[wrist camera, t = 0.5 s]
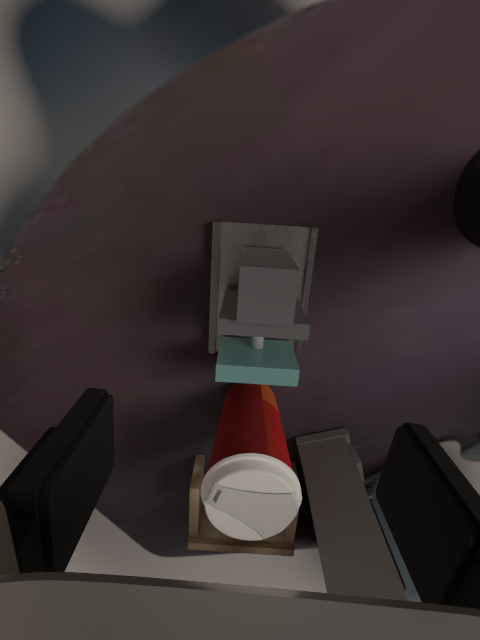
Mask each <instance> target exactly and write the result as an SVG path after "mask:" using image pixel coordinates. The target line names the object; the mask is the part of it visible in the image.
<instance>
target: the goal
mask: <svg viewBox="0 0 480 640" xmlns="http://www.w3.org/2000/svg"><path fill="white" fill-rule="evenodd" d="M204 461H205V455H196V459H195V464H194V469H193V474H192V479H191V484H190V497H189V539H188V549H191V550H206V551H221V552H236V553H252V554H267V555H282V556H293V555H294V537H295V531H296V525H297V518H298V512H299V508H298V512H297V514H296V516H295V518H294V519H293V520H292V522H291V523H290V524H289V525H288V526H287V527H286V528H285V529H284V530H283V531H281V532H280V533H278V534H276V535H274V536H271V537H269V538H266V539H263V540H255V541H251V540H240V539H236V538H233V537H230V536H228V535H226V534H224V533H222V532H221V531H219V530H218V529H217V528H216V527H215V526H214V525H213V524H212V523H211V521H210V520H209V518H208V516H207V514H206V511H205V506H204V504H203V502H202V498H201V484H202V481H203V478H204ZM291 466H292V470H293V472H294V473H295V474H296V476H297V478H298V475H297V469H296V463H295V461H291Z"/></svg>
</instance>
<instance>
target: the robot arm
mask: <svg viewBox="0 0 480 640" xmlns="http://www.w3.org/2000/svg"><path fill="white" fill-rule="evenodd" d="M113 461H114V453H113V396H112V395H108V392H107V390H104V389H95V388H88V389H86V391H85V392H84V393H83V394H82V396H81V397H80V398H79V399H78V401H77V402H76V403H75V404H74V406H73V407H72V408H71V409H70V411H69V412H68V413H67V414H66V416H65V417H64V418H63V419H62V421H61V422H60V423H59V425H58V426H57V427H51V428H49V429H48V430H47V431H46V432H45V433H44V434H43V436H42V437H41V438H40V439H39V440H38V442H37V443H36V444H35V445H34V446H33V448H32V449H31V450H30V451H29V453H28V454H27V455H26V456H25V457H24V459H23V460H22V461H21V462H20V463H19V465H18V466H17V467H16V468H15V470H14V471H13V472H12V473H11V474H10V476H9V477H8V478H7V479H6V480H5V482H4V483H3V484H2V485H1V487H0V640H480V496H479V494H478V493H477V492H476V490H475V489H474V488H473V487H472V485H471V484H470V483H469V482H468V480H467V479H466V478H465V476H464V475H463V474H462V473H461V471H460V470H459V469H458V467H457V466H456V465H455V464H454V462H453V461H452V460H451V458H450V457H449V456H448V455H447V453H446V452H445V451H444V449H443V448H442V447H441V446H440V444H439V443H438V442H437V440H436V439H435V438H434V437H433V435H432V434H431V433H430V432H429V430H428V429H427V428H426V427H425V426H424V425H422V424H413V423H404V424H403V425H402V427H398V428H397V430H396V432H395V435H394V438H393V441H392V444H391V447H390V450H389V453H388V456H387V459H386V462H385V465H384V467H383V470H382V473H381V476H380V479H379V482H378V485H377V488H376V497H377V500H378V503H379V505H380V507H381V510H382V512H383V514H384V516H385V519H386V521H387V524H388V526H389V528H390V530H391V533H392V535H393V537H394V540H395V542H396V544H397V546H398V549H399V551H400V553H401V556H402V558H403V560H404V562H405V565H406V567H407V569H408V572H409V574H410V576H411V578H412V581H413V583H414V585H415V588H416V590H417V592H418V594H419V596H420V599H421V601H422V602H412V601H402V600H391V599H381V598H371V597H361V596H350V595H340V594H329V593H318V592H308V591H297V590H286V589H275V588H263V587H252V586H241V585H230V584H218V583H205V582H195V581H182V580H171V579H160V578H147V577H136V576H121V575H106V574H90V573H76V572H64V571H65V569H66V567H67V565H68V563H69V561H70V559H71V557H72V554H73V552H74V550H75V548H76V546H77V544H78V542H79V540H80V537H81V535H82V533H83V531H84V529H85V527H86V525H87V523H88V520H89V518H90V516H91V514H92V511H93V510H94V508H95V506H96V503H97V501H98V499H99V497H100V495H101V493H102V491H103V489H104V486H105V484H106V482H107V480H108V478H109V476H110V474H111V471H112V467H113Z"/></svg>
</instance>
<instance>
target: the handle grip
mask: <svg viewBox="0 0 480 640" xmlns="http://www.w3.org/2000/svg"><path fill="white" fill-rule="evenodd" d="M454 209H455V215H456V221H457V223H458V225H459V227H460V229H461V231H462V233H463V234H464V235H465V236H466V237H467V238H468V239H469V240H470V241H471V242H472V243H474V244H476V245H478V246H480V151H479V152H478V153H477V154H476V155H475V157H474V158H473V159H472V160H471V161H470V162H469V164H468V165H467V167H466V169H465V170H464V172H463V174H462V176H461V177H460V180H459V183H458V186H457V190H456V193H455V205H454Z"/></svg>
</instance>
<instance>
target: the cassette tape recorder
mask: <svg viewBox="0 0 480 640" xmlns="http://www.w3.org/2000/svg"><path fill="white" fill-rule="evenodd" d="M295 438H296V443H297V447H298V451H299V455H300V460H301V464H302V468H303V473H304V478H305V483H306V488H307V493H308V498H309V503H310V508H311V513H312V518H313V523H314V528H315V533H316V538H317V543H318V548H319V553H320V558H321V563H322V569H323V573H324V578H325V584H326V589H327V593H329V594H340V595H350V596H361V597H371V598H381V599H391V600H402V601H410V600H409V598H408V595H407V593H406V590H405V584H404V582H403V579H402V577H401V574H400V571H399V569H398V566H397V564H396V562H395V559H394V557H393V554H392V552H391V549H390V547H389V544H388V542H387V539H386V537H385V534H384V532H383V529H382V527H381V524H380V522H379V519H378V517H377V514H376V512H375V509H374V507H373V504H372V502H371V499H369V498H368V495H367V492H366V490H365V484H364V482H365V480H364V474H363V468H362V462H361V460H360V458H359V455H358V453H357V451H356V448H355V446H354V445H351V441H350V435H349V432H348V430H347V428H339V429H336V430H331V431H326V432H320V433H315V434H310V435H305V436H299V437H295Z"/></svg>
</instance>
